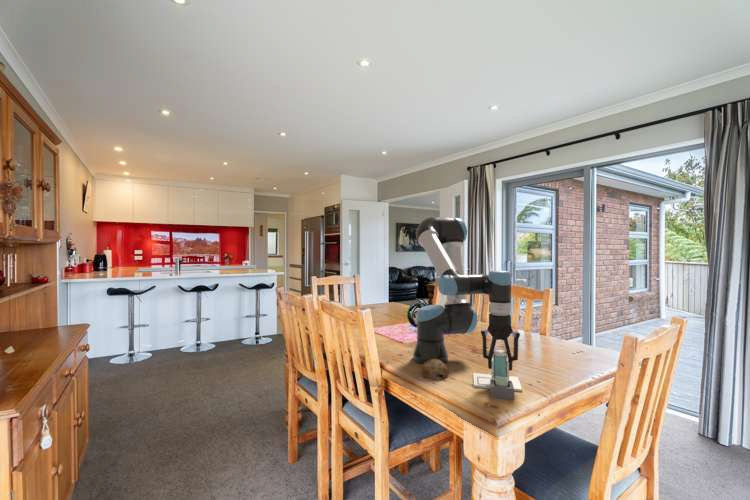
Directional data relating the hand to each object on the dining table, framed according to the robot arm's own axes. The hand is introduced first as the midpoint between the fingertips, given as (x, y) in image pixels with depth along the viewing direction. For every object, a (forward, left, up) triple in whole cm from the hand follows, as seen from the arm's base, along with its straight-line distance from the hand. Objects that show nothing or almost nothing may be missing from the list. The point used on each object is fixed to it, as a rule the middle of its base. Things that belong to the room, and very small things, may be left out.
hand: (500, 378), depth 127 cm
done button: (0, -9, 0) cm, 9 cm away
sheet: (-1, +1, -2) cm, 2 cm away
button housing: (0, -9, -2) cm, 10 cm away
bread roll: (-24, +3, -2) cm, 24 cm away
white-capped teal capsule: (0, 0, -1) cm, 1 cm away
